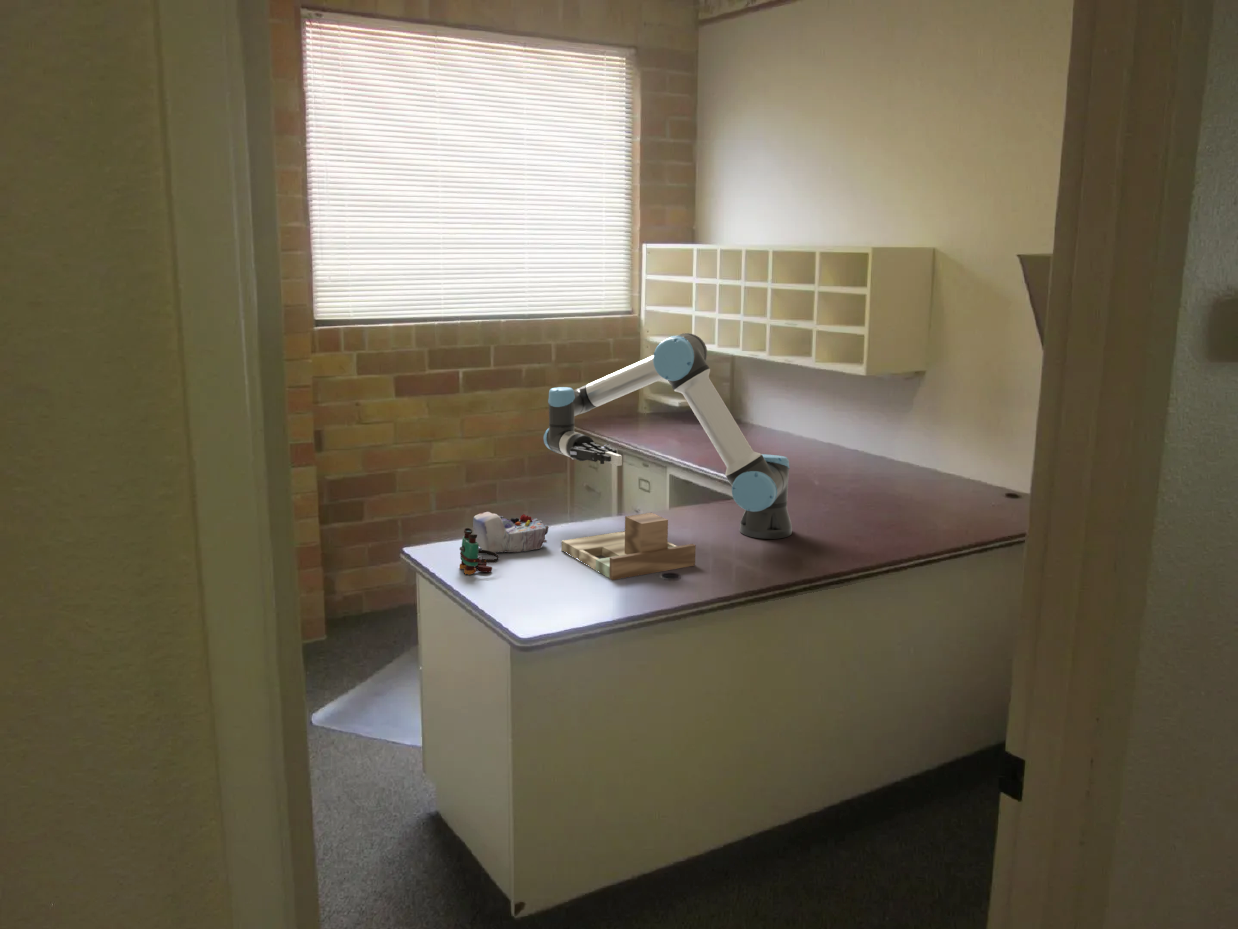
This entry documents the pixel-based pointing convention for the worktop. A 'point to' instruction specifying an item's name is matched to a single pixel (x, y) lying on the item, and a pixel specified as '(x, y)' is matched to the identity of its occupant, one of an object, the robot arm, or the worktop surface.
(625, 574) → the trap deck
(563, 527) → the worktop surface
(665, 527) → the walnut block
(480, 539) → the cell model
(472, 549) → the binoculars
